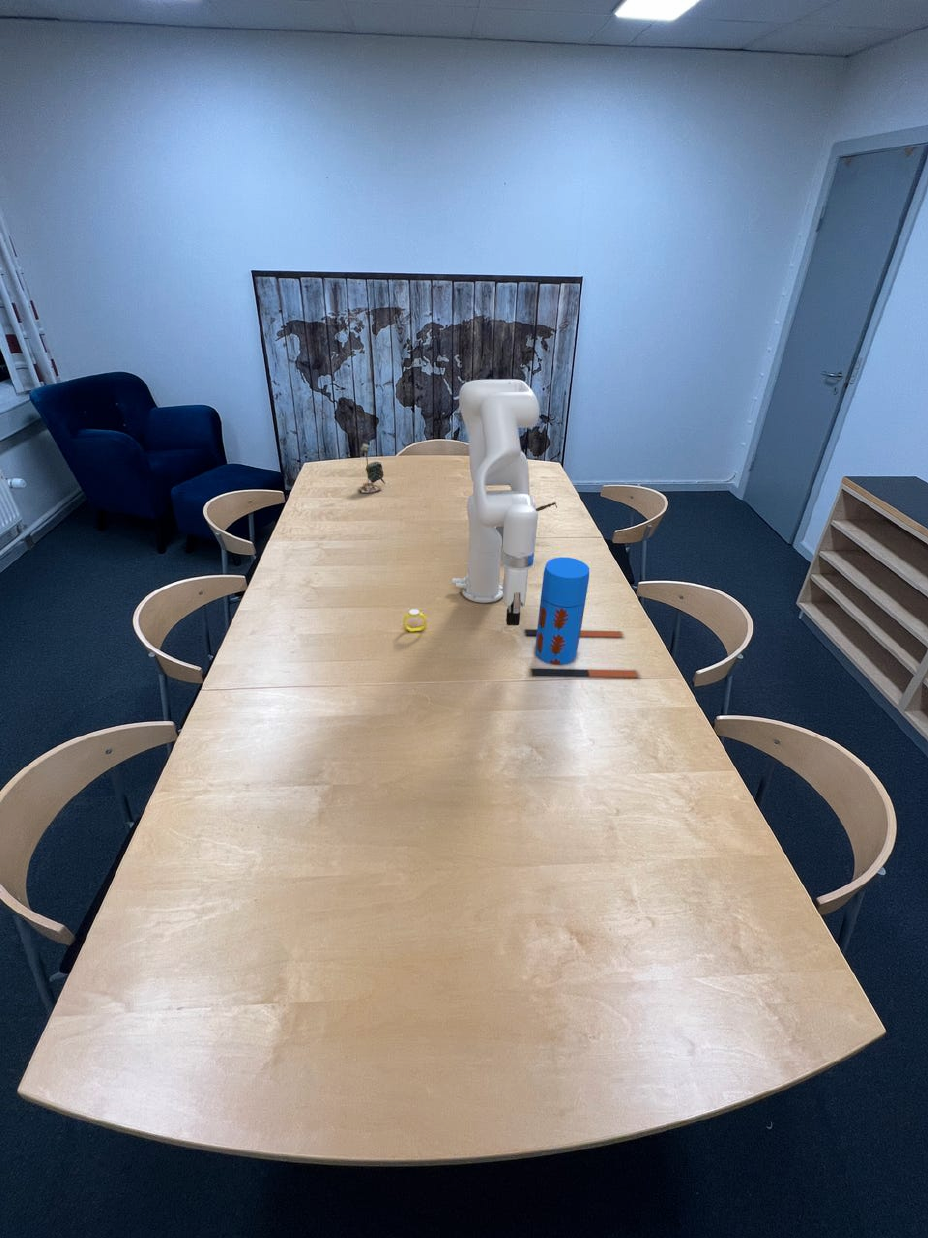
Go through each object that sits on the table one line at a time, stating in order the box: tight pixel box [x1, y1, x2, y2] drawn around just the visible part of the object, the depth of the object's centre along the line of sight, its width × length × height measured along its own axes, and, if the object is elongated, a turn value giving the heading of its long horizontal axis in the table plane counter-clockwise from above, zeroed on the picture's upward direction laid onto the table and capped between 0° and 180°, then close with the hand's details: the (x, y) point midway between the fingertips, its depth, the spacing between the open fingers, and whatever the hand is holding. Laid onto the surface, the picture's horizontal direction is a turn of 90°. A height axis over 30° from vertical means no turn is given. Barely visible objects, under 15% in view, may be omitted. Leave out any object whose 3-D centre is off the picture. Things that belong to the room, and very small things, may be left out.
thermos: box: [535, 556, 590, 666], centre depth 152 cm, size 11×11×25 cm
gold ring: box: [403, 608, 427, 632], centre depth 164 cm, size 6×3×6 cm, turn 96°
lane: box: [525, 628, 639, 679], centre depth 159 cm, size 26×20×1 cm
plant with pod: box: [358, 443, 386, 494], centre depth 246 cm, size 8×11×20 cm
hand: (512, 623), depth 153 cm, fingers closed
